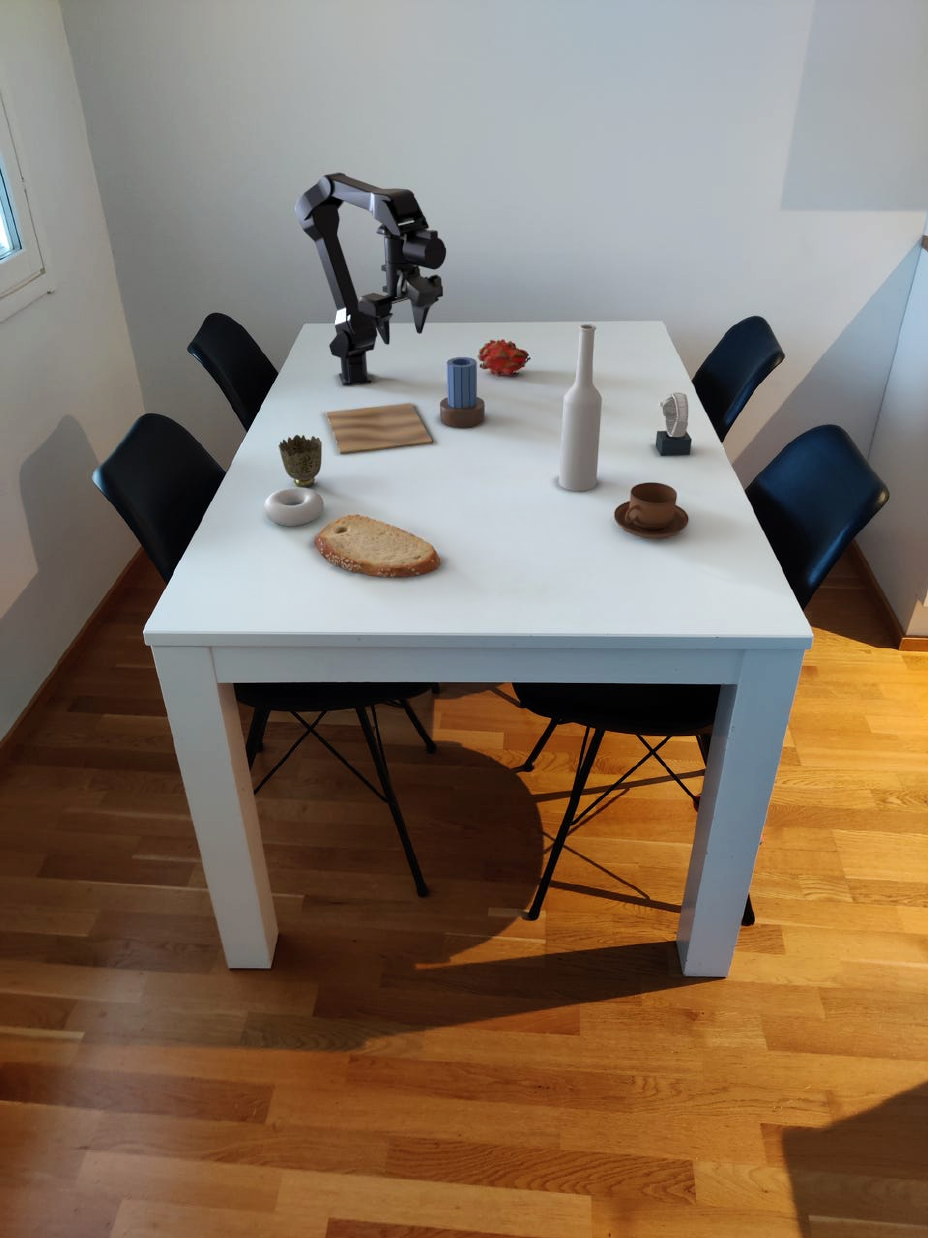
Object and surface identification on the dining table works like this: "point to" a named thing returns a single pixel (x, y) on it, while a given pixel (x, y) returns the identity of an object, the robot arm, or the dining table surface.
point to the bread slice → (375, 548)
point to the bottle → (581, 422)
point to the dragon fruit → (502, 357)
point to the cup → (302, 459)
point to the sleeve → (462, 382)
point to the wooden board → (377, 428)
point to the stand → (462, 414)
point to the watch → (674, 426)
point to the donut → (293, 506)
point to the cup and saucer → (651, 511)
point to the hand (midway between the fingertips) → (403, 338)
